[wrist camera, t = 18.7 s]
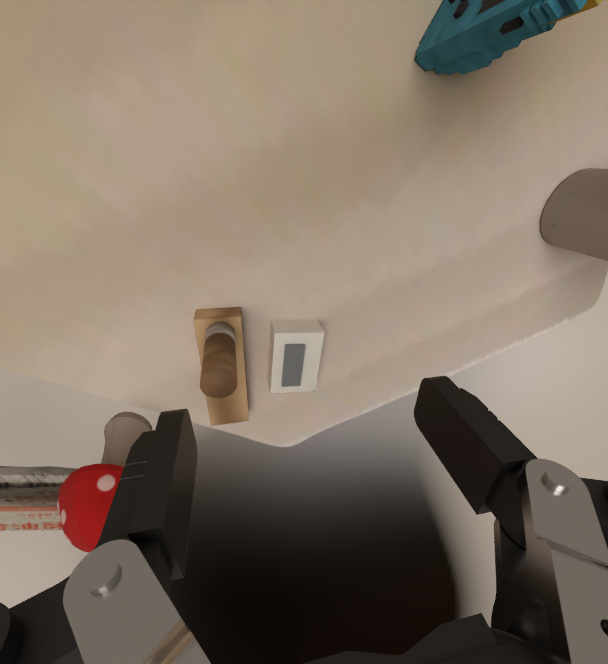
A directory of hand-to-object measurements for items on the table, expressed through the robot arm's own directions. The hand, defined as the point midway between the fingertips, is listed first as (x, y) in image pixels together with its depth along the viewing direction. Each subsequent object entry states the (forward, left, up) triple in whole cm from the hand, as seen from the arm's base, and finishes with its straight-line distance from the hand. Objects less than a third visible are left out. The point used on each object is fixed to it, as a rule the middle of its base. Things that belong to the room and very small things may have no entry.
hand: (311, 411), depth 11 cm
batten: (+4, +16, -26) cm, 31 cm away
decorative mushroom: (+17, +25, -27) cm, 41 cm away
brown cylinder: (+4, +10, -24) cm, 26 cm away
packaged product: (+30, +36, -27) cm, 54 cm away
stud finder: (-4, +15, -27) cm, 31 cm away
